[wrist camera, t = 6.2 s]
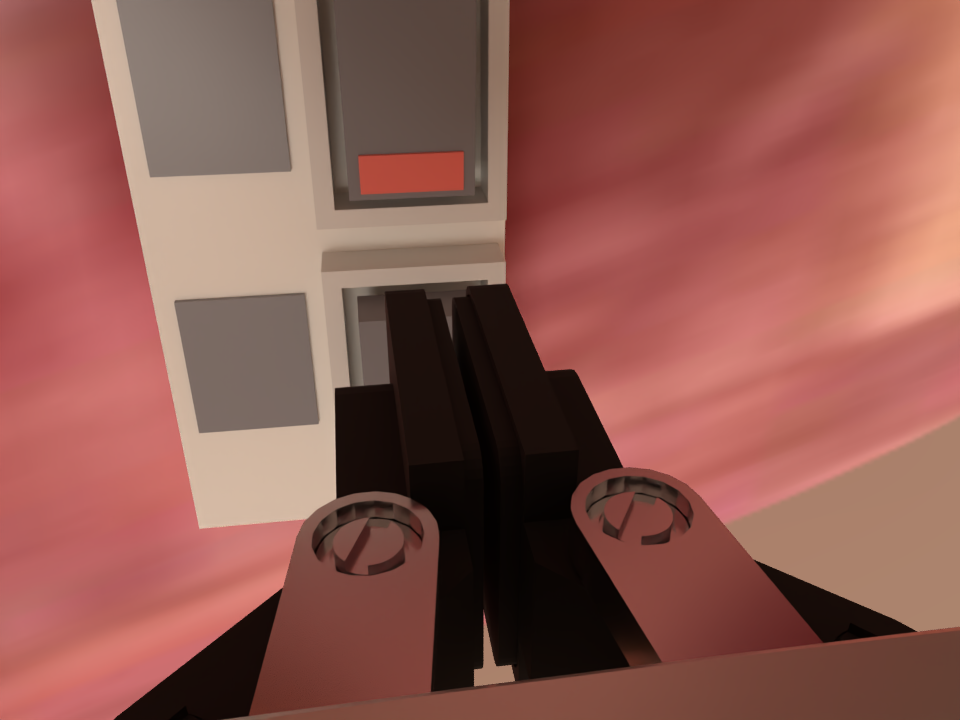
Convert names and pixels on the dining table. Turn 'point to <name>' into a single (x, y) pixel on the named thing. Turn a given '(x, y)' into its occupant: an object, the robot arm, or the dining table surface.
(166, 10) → the power strip
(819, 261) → the dining table surface
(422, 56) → the rocker middle
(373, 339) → the rocker
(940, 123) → the dining table surface
